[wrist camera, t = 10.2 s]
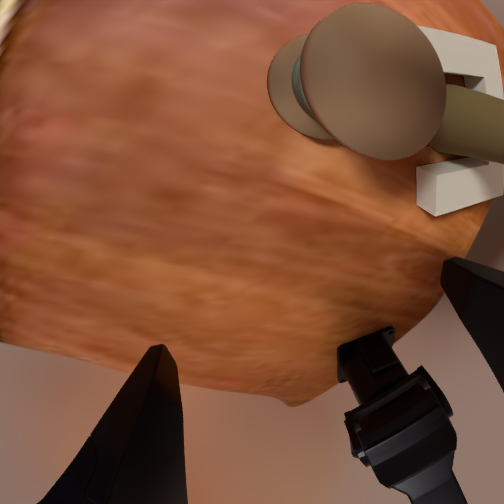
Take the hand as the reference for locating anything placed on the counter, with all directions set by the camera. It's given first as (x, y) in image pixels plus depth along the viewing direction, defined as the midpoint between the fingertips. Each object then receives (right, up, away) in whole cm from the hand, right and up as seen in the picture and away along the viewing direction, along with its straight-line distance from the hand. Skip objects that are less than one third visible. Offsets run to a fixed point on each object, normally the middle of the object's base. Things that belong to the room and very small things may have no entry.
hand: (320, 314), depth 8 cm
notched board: (+15, +13, +9) cm, 22 cm away
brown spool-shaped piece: (+2, +12, +8) cm, 15 cm away
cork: (+13, +13, +10) cm, 21 cm away
